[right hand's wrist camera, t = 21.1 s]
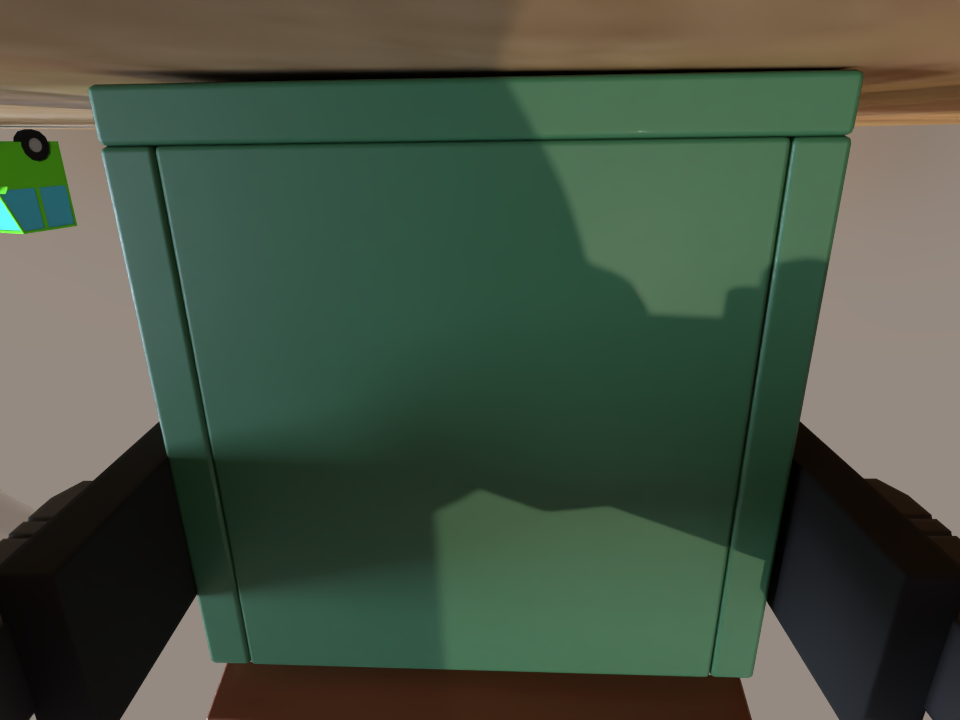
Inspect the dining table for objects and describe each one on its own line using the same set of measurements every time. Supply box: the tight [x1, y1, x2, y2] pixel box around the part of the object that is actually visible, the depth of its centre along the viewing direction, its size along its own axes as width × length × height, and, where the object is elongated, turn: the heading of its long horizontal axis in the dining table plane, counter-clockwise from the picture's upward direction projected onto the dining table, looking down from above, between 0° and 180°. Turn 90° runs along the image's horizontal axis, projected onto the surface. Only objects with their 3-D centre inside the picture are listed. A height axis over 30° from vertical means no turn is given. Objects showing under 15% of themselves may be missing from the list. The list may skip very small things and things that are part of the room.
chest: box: [88, 70, 863, 678], centre depth 16 cm, size 16×10×10 cm, turn 3°
